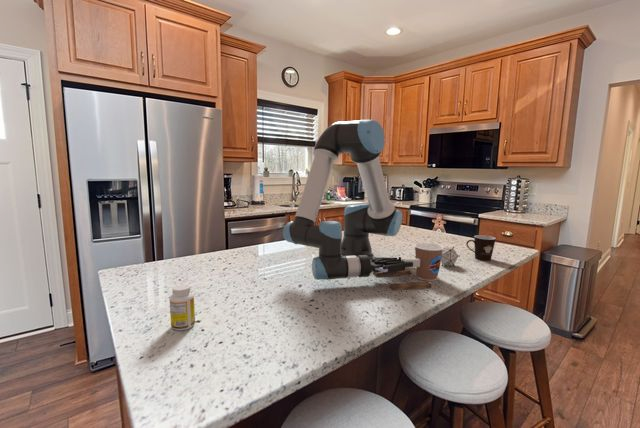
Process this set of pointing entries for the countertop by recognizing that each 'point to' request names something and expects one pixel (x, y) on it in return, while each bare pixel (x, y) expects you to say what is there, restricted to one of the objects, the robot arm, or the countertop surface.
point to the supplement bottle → (182, 308)
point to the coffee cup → (428, 260)
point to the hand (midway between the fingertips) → (419, 262)
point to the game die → (449, 256)
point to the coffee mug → (483, 247)
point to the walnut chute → (405, 285)
